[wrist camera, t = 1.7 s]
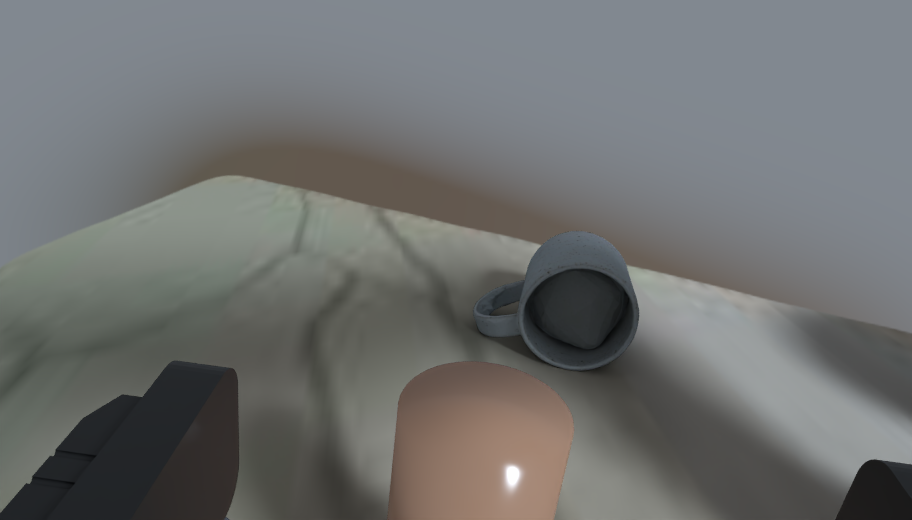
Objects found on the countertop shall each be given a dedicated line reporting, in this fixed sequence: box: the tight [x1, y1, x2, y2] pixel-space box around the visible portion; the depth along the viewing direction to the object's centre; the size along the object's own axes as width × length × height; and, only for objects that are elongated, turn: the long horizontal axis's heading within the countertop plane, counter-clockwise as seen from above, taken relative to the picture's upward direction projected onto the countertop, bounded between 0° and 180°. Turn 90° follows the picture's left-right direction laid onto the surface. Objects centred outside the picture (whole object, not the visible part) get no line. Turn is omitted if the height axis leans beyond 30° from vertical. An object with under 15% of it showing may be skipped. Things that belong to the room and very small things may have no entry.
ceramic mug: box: [473, 231, 639, 371], centre depth 49 cm, size 11×8×8 cm
